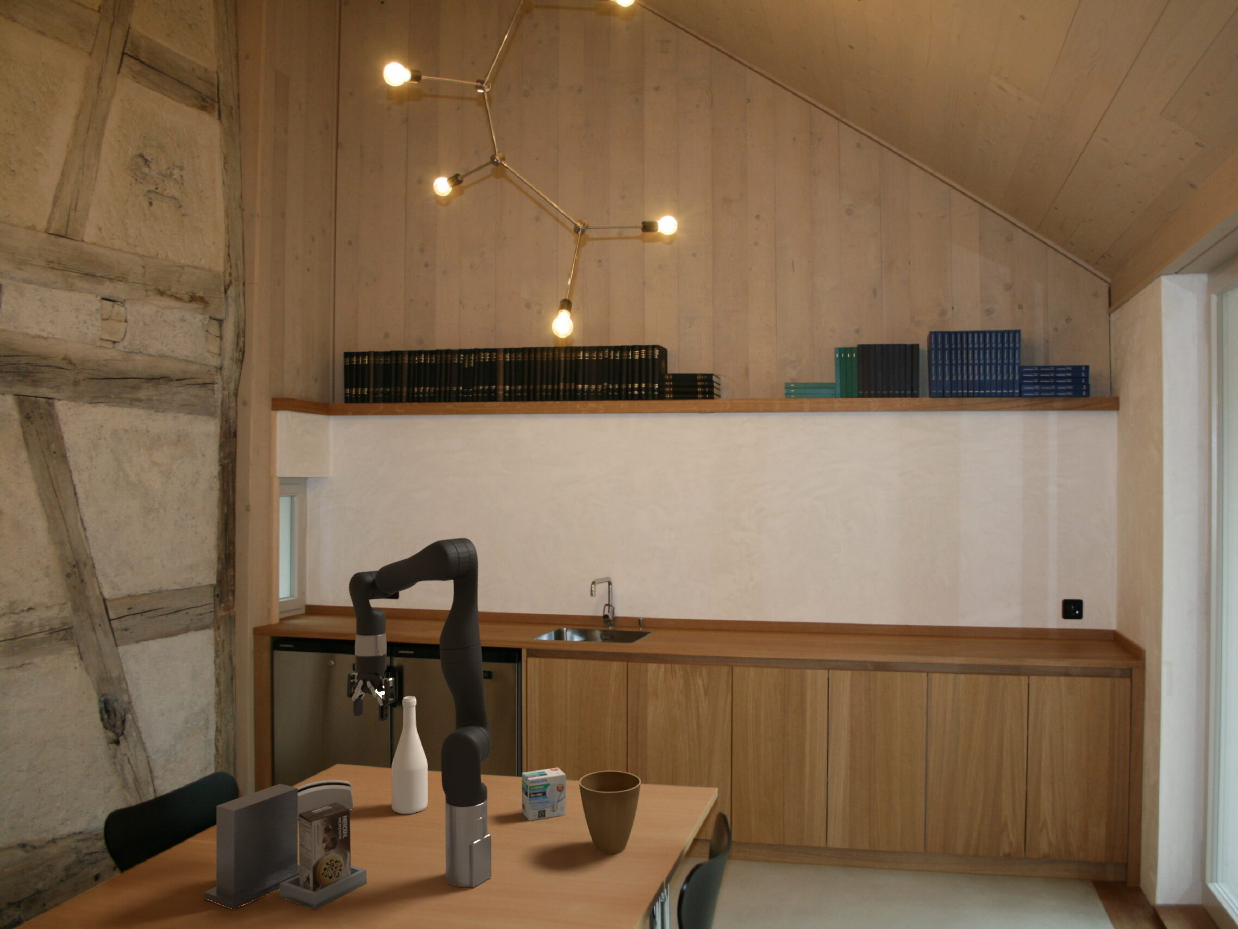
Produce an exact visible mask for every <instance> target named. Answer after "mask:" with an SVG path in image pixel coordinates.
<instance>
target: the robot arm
mask: <svg viewBox="0 0 1238 929" xmlns="http://www.w3.org/2000/svg"><path fill="white" fill-rule="evenodd" d="M430 581H431V582H432V581H435V582H436V581H437V582H439V581H440V582H447V581H448V582H449V581H452V582H453V597H452V604H451V607H450V610H449V613H448V614H447V617H446V619H445V621H444V625H443V627H442V629H441V633H440V635H439V636H440V637H439V641H438V642H439V657H440V658H439V659H440V667H441V672H442V674H443V675H442V676H443V678H444V680H445V683H446V685H447V687H448V689H449V692H450V694H451V696H452V700H453V703H454V710H455V711H454V712H455V730H454V731H453V732H451V733H449V734H448V735H446V737H445V738H444V740H443V741H442V744H441V749H440V750H441V751H440V770H441V771H440V772H441V787H442V791H443V793H444V796H445V797H444V798H445V799H444V800H445V804H444V805H445V818H444V819H445V822H444V824H445V828H444V829H445V882H446V883H447V884H448V885H451V886H453V887H460V888H465V887H466V888H467V887H471V888H475V887H477V886H479V885H480V884H482V883H484V882H486V881H487V880H489V879H490V878H492V834H491V833H489V832H488V787H487V785H486V784H485V783H484V782H482V772H481V771H482V770H481V769H482V768H481V767H482V766H481V764H482V763H483V762H484V761H485V760H486V759H487V758H488V757H489V755H490V754H491V750H492V744H493V743H492V734H491V728H490V723H489V718H488V714H487V706H486V701H485V700H486V699H485V686H484V671H483V670H484V669H483V654H482V643H481V642H482V641H481V633H480V621H479V619H480V618H479V605H478V604H479V603H478V602H479V596H478V594H479V592H478V591H479V558H478V553H477V549H476V546H475V545H474V543H473V541H471V540H470V539H469V538H467V537H457V538H447V539H439V540H436V541H434V542H432V543H430V544H428V545H427V546H425V547H424V548H422V549H421V550H420V551H418V552H417V553H414V554H413V555H411V556H409V557H407V558H403V559H400V560H397V561H394V562H392V563H389V564H385V565H383V566H382V567H380V568H379V569H378V570H369V571H368V570H367V571H360V572H355V573H354V574H353V575H352V576H351V578H350V580H349V584H348V593H349V596H350V599H351V600H350V601H351V602H352V607H353V610H354V615H355V622H356V623H355V630H356V632H355V642H354V670H355V672H352V673H348V674H347V681H346V685H347V686H346V697H347V698H348V699H349V698H350V699H351V700H352V702H353V706H352V708H353V709H352V710H353V716H354V717H360V716H362V715H364V714H363V713H364V711H363V710H364V709H363V708H364V700H363V698H364V697H365V694H368V695H371V696H373V698H374V699H376V700H377V703H378V721H380V722H385V721H386V720H388V718H389V706H390V704H392V703H395V702H396V686H395V685H396V683H395V677H387V678H386V676H385V671H386V670H387V666H388V665H387V656H388V655H387V654H388V653H387V637H386V636H387V634H386V621H387V620H386V612H385V611H384V610H382V609H380V608H373V607H372V605H371V602H370V601H371V600H379V599H384V598H388V597H391V596H392V595H394V594H396V593H399V592H401V591H405V590H409V589H410V588H412V587H414V586H415V585H417V583H421V582H430Z"/></svg>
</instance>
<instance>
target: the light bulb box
mask: <svg viewBox="0 0 1238 929" xmlns="http://www.w3.org/2000/svg"><path fill="white" fill-rule="evenodd" d="M566 805H567V775H566V773H565V772H563V771H562V770H561V769H560V768H559V767H553V768H546V769H539V770H533V771H532V770H531V771H523V772H521V813H522V814H523V815H524V817H525V818H526V819H527V821H535V820H541V819H549V818H555V817H560V816H561V817H562V816H566V815H567V813H566V811H567V806H566Z"/></svg>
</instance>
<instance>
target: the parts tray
mask: <svg viewBox="0 0 1238 929" xmlns="http://www.w3.org/2000/svg"><path fill="white" fill-rule="evenodd" d="M367 871H368V870H367V869H365V868H363V867H360V866H355V865H352V864H351V875H350V876H348V877H345V878H343V879H341V880H339V881H337V882H335V883H333V884H331V885H329V886H327V887H325V888H323V889H321V890H319V891H317V892H313V891H310V890H307V889H304V888H301V887H299V875H297V876H295V877H293V878H290V879H288V880H286V881H284V882H282V883H280V889H279V899H282V898H283V900H285V899H287V900H286V901H288V900H290V901H289V902H291V903H293V902H294V903H293V904H296V903H297V905H299V904H300V906H302V907H305V908H309V909H311V910H313V911H316V910H317V909H320V908H321V906H322V907H323V906H325V905H328V904H329V903H332V902H333V901H336V900H338V899H339V898H341V897H342V896H345V895H347V894H349V893H351V892H353V891H355V890H357V889H358V888H360V887H362V886H364V885H367V879H368V878H367Z"/></svg>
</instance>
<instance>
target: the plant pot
mask: <svg viewBox="0 0 1238 929" xmlns="http://www.w3.org/2000/svg"><path fill="white" fill-rule="evenodd" d="M641 780H642V779H641V778H639V776H638V775H636V774H633V773H630V772H625V771H620V770H602V771H596V772H595V771H593V772H591V773H588V774H585V775H583V776H582V777H581V778H580V779H579V780H578V785H579V793H580V800H581V804H582V809H583V810H582V811H583V814H584V817H585V818H584V819H585V823H586V825H587V829H588V832H589V835H590V837H591V841H592V843H593V846H594V848H595V850H597V851H598V852H600V853H602V854H617V853H621V852H622V851H624V850H625V849H626V847H627V845H628V842H629V841H628V840H629V839H630V836H631V832H632V829H633V827H634V822H635V817H636V814H637V810H638V804H639V799H640V798H639V797H640V791H641V784H642V781H641Z"/></svg>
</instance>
